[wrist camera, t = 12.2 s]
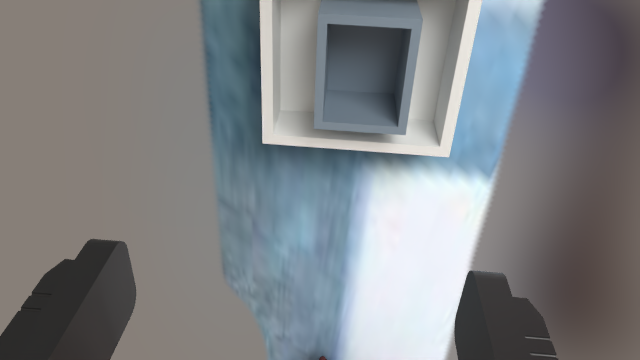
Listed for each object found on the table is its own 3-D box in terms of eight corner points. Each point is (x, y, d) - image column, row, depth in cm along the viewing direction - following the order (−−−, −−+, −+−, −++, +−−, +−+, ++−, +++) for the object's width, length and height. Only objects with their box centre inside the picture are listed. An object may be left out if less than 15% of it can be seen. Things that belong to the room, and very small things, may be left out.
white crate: (270, -55, 36) (258, -40, 32) (473, -43, 36) (487, -26, 32) (272, 113, 44) (262, 143, 40) (440, 125, 43) (448, 157, 39)
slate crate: (324, -12, 37) (317, 13, 32) (415, -6, 37) (423, 19, 32) (319, 92, 41) (313, 128, 36) (400, 98, 41) (405, 135, 36)
